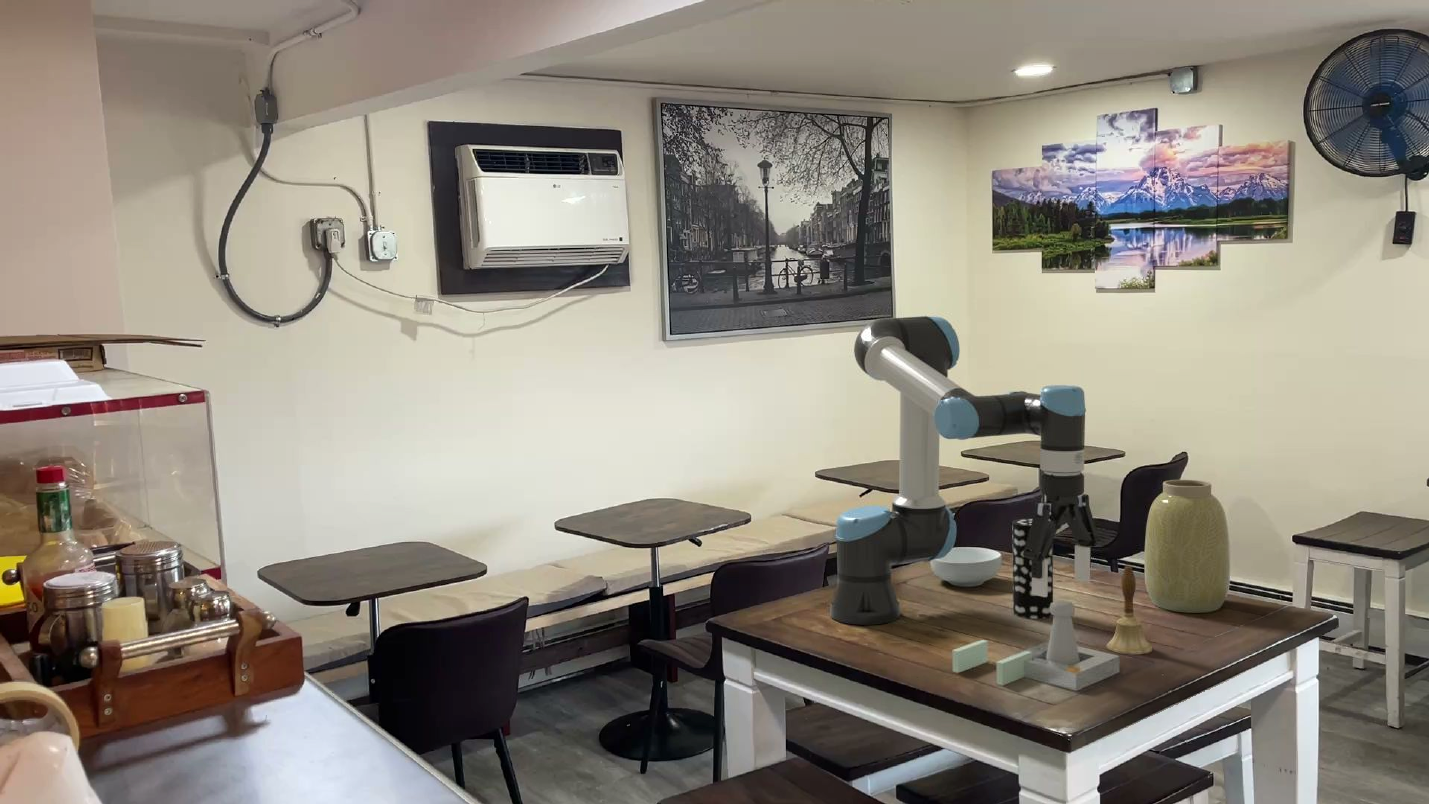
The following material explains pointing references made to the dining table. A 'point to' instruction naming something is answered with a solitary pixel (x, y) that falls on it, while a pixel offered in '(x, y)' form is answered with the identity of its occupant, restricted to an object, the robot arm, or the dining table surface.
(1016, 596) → the white-spotted black cylinder
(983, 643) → the pale green rectangular blocks
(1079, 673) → the socket
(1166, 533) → the vase
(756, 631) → the dining table surface
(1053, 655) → the salt shaker
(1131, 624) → the hand bell
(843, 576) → the robot arm
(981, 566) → the cereal bowl
